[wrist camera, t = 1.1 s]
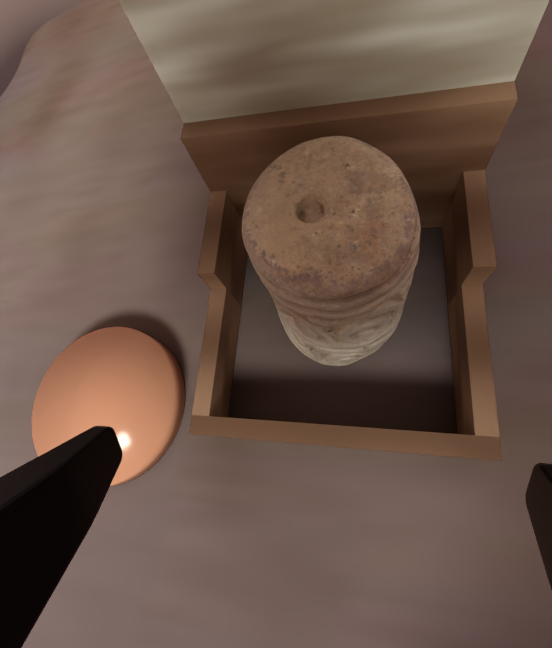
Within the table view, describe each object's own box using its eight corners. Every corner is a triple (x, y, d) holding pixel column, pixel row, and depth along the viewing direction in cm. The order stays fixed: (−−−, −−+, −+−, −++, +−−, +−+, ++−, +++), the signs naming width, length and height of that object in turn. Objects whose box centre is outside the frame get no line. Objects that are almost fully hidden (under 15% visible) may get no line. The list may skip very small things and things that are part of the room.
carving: (329, 399, 21) (299, 346, 10) (265, 304, 24) (187, 179, 13) (418, 340, 21) (488, 221, 10) (344, 252, 24) (334, 83, 13)
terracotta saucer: (126, 520, 21) (110, 525, 20) (23, 434, 24) (3, 433, 23) (213, 372, 23) (204, 368, 22) (107, 311, 26) (92, 304, 25)
